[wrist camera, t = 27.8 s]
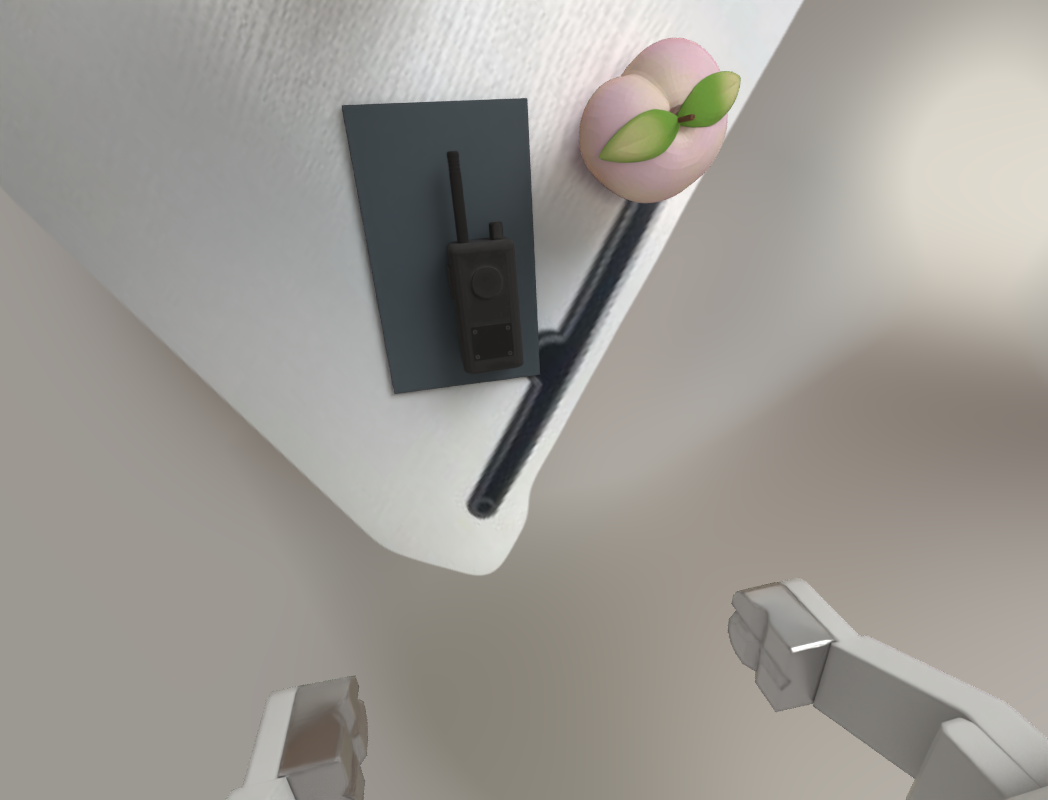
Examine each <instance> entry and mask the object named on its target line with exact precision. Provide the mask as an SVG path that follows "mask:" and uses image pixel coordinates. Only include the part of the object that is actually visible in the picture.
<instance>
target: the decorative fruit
mask: <svg viewBox="0 0 1048 800" xmlns="http://www.w3.org/2000/svg"><path fill="white" fill-rule="evenodd" d="M740 79H741V78H740V76H739V75H737V74H736V73H733V72H728V71H723V72H720V69H719V67H718V65H717V64H716V62H715V60H714V59H713V58H712V57H711V55H710V54H709V53H708V52H707V51H706V50H705V49H703V48H702V47H701V46H700V45H698V44H697V43H695V42H692V41H690V40H687V39H684V38H668V39H664V40H661V41H658V42H656V43H654V44H652V45H650V46H649V47H647V48H646V49H644V50H643V51H642V52H641V53H640V54H639V55H638V56H637V57H636V58H635V59H634V60H633V61H632V62H631V63H630V64H629V65H628V66H627V68H626V69H625V71H624V73H623V74H622V75H621V77H617V78H614V79H611V80H609V81H607V82H605V83H604V84H603V85H601V86H600V87H599V88H598V89H597V90H596V91H595V93H594V94H593V95H592V97H591V98H590V100H589V102H588V104H587V105H586V107H585V110H584V113H583V115H582V118H581V123H580V129H579V145H580V151H581V154H582V157H583V160H584V162H585V164H586V166H587V167H588V169H589V170H590V172H591V173H592V174H593V175H594V176H595V177H596V178H597V179H598V180H599V181H600V182H601V183H602V184H603V185H604V186H606V187H607V188H608V189H609V190H611V191H612V192H614V193H615V194H617V195H619V196H620V197H623V198H625V199H627V200H630V201H634V202H639V203H652V202H658V201H662V200H666V199H669V198H671V197H673V196H675V195H677V194H679V193H680V192H682V191H683V190H684V189H686V188H687V187H688V186H689V185H691V184H692V183H693V182H695V181H696V180H697V179H698V178H699V177H700V176H701V175H703V174H704V173H705V172H706V170H707V169H708V168H709V167H710V166H711V164H712V163H713V161H714V160H715V158H716V156H717V154H718V152H719V150H720V148H721V146H722V143H723V141H724V137H725V134H726V129H727V112H728V111H729V110H730V109H731V107H732V105H733V103H734V102H735V99H736V97H737V95H738V91H739V88H740Z"/></svg>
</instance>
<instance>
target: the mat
mask: <svg viewBox="0 0 1048 800" xmlns="http://www.w3.org/2000/svg"><path fill="white" fill-rule="evenodd" d="M342 110H343V116H344V121H345V127H346V132H347V138H348V143H349V149H350V154H351V160H352V165H353V171H354V176H355V181H356V187H357V192H358V198H359V203H360V209H361V214H362V220H363V225H364V231H365V236H366V241H367V247H368V252H369V258H370V263H371V269H372V274H373V280H374V285H375V291H376V296H377V302H378V307H379V312H380V318H381V323H382V329H383V334H384V340H385V345H386V351H387V356H388V362H389V367H390V373H391V378H392V383H393V389H394V393H395V394H397V393H405V392H412V391H420V390H427V389H435V388H443V387H450V386H458V385H465V384H473V383H481V382H488V381H496V380H503V379H511V378H518V377H526V376H534V375H540V365H539V344H538V322H537V300H536V279H535V257H534V236H533V214H532V192H531V171H530V149H529V127H528V106H527V98H521V99H495V100H469V101H443V102H417V103H391V104H364V105H342ZM448 151H458V152H459V160H460V162H459V164H460V168H461V170H460V172H461V177H462V185H463V194H464V203H465V212H466V220H467V229H468V238H469V240H473V239H483V238H490V234H489V223H490V222H493V221H501V222H502V224H503V236H504V237H507V238H509V239H510V240H512V241H513V242H514V245H515V257H516V270H517V283H518V295H519V308H520V321H521V334H522V347H523V360H524V363H523V365H522V366H520V367H517V368H511V369H504V370H497V371H490V372H484V373H477V374H469V373H466V372H465V370H464V367H463V363H462V357H461V349H460V342H459V335H458V327H457V320H456V312H455V305H454V300H452V299H451V296H450V289H449V282H448V274H447V266H448V265H449V260H448V252H447V246H448V244H449V243H451V242H454V241H457V234H456V226H455V218H454V210H453V202H452V194H451V186H450V178H449V173H450V172H449V170H448V169H449V167H448V165H449V164H448V162H447V161H448V159H447V152H448Z"/></svg>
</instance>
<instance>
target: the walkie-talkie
mask: <svg viewBox="0 0 1048 800" xmlns="http://www.w3.org/2000/svg"><path fill="white" fill-rule="evenodd" d="M447 159H448V161H447V162H448V164H449V165H448V167H449V169H448V170H449V172H450V173H449V178H450V186H451V194H452V202H453V210H454V218H455V226H456V234H457V241H454V242H451V243H449V244H448V246H447V252H448V260H449V265H448V266H447V274H448V282H449V289H450V296H451V299H452V300H454V305H455V312H456V320H457V327H458V335H459V342H460V349H461V357H462V363H463V367H464V370H465V372H466V373H469V374H477V373H484V372H490V371H497V370H504V369H511V368H517V367H520V366H522V365H523V363H524V360H523V347H522V334H521V321H520V308H519V295H518V283H517V270H516V257H515V245H514V242H513V241H512V240H510V239H509V238H507V237H504V236H503V224H502V222H501V221H493V222H490V223H489V234H490V238H483V239H473V240H469V238H468V229H467V220H466V212H465V203H464V194H463V185H462V177H461V172H460V170H461V168H460V164H459V162H460V160H459V152H458V151H448V152H447Z"/></svg>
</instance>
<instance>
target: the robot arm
mask: <svg viewBox="0 0 1048 800" xmlns="http://www.w3.org/2000/svg"><path fill="white" fill-rule="evenodd" d="M732 605H733V607H734V608H735V609H736V611H735V612H734V614H733V615H732V616H731V617H730V618H729V624H728V633H729V638H730V642H731V645H732V647H733V649H734V651H735V653H736V655H737V656H738V658H739V659H740V660H741V662H742V663H743V664H744V665H746V666H747V667H749V668H751V669H752V670H754V671H755V682H756V684H757V686H758V687H759V689H760V690H761V692H762V693H763V694H764V696H765V697H766V699H767V700H768V701H769V703H770V705H771V706H772V707H773V709H774V710H775V712H778V711H783V710H787V709H792V708H796V707H800V706H804V705H809V704H813V703H814V704H813V706H814V707H815V708H816V709H818V710H819V711H821V712H822V713H823V714H825V715H826V716H828V717H829V718H830V719H832V720H833V721H835V722H836V723H838V724H839V725H840V726H842V727H843V728H844V729H846V730H847V731H849V732H850V733H851V734H853V735H854V736H855V737H857V738H858V739H860V740H861V741H863V742H864V743H865V744H867V745H868V746H869V747H871V748H872V749H874V750H875V751H876V752H878V753H879V754H881V755H882V756H883V757H885V758H886V759H888V760H889V761H890V762H892V763H893V764H895V765H896V766H897V767H899V768H900V769H902V770H903V771H904V772H906V773H907V774H909V775H910V776H912V777H913V778H914V779H915V780H914V782H913V784H912V786H911V788H910V791H909V793H908V795H907V797H906V800H1048V738H1046V737H1045V736H1044V735H1043V734H1042V733H1041V732H1040V731H1039V730H1037V729H1036V728H1035V727H1034V726H1033V725H1032V724H1031V723H1029V722H1028V721H1027V720H1026V719H1025V718H1024V717H1023V716H1022V715H1020V714H1019V713H1018V712H1017V711H1016V710H1015V709H1014V708H1013V707H1011V706H1010V705H1009V704H1008V703H1007V702H1005V701H1003V700H1001V699H999V698H997V697H995V696H993V695H990V694H988V693H986V692H984V691H982V690H980V689H978V688H976V687H974V686H972V685H970V684H967V683H965V682H963V681H961V680H959V679H957V678H955V677H953V676H951V675H948V674H947V673H945V672H942V671H940V670H938V669H936V668H934V667H932V666H930V665H928V664H926V663H924V662H922V661H919V660H917V659H915V658H913V657H911V656H909V655H907V654H905V653H903V652H901V651H899V650H897V649H894V648H892V647H890V646H888V645H886V644H884V643H882V642H880V641H878V640H876V639H873V638H872V637H869V636H867V635H863V636H859V635H858V634H857V633H856V632H855V631H854V630H853V629H852V628H851V627H850V626H849V625H848V624H847V623H846V622H845V621H844V620H843V619H842V618H841V617H840V616H839V615H838V613H836V611H835V610H834V609H833V608H832V607H830V606H829V604H828V603H827V602H826V601H825V600H824V599H823V598H822V597H821V596H820V595H819V594H818V593H817V592H816V591H815V590H814V589H813V588H812V587H811V586H810V585H809V584H808V583H807V582H806V581H804V580H802V579H801V578H795V579H790V580H786V581H782V582H777V583H775V582H774V583H770V584H766V585H761V586H757V587H753V588H748V589H745V590H740V591H737V592H736V593H735V594H734V595H733V599H732ZM358 692H359V685H358V682H357V679H356V677H355V676H349V677H344V678H339V679H334V680H328V681H323V682H317V683H312V684H307V685H302V686H297V687H292V688H287V689H282V690H278V691H273V692H271V694H270V696H269V698H268V699H267V701H266V704H265V707H264V711H263V715H262V718H261V722H260V725H259V729H258V733H257V736H256V740H255V744H254V747H253V750H252V754H251V757H250V761H249V765H248V768H247V772H246V775H245V779H244V783H243V786H242V787H240V788H236V789H233V790H232V792H231V793H230V794H229V795H228V797H227V798H226V799H225V800H363V799H364V786H365V780H364V776H363V773H362V770H361V766H360V765H361V764H362V762H363V761H364V759H365V757H366V756H367V747H368V722H367V715H366V709H365V706H364V702H363V701H362V700H360V699H358Z"/></svg>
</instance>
